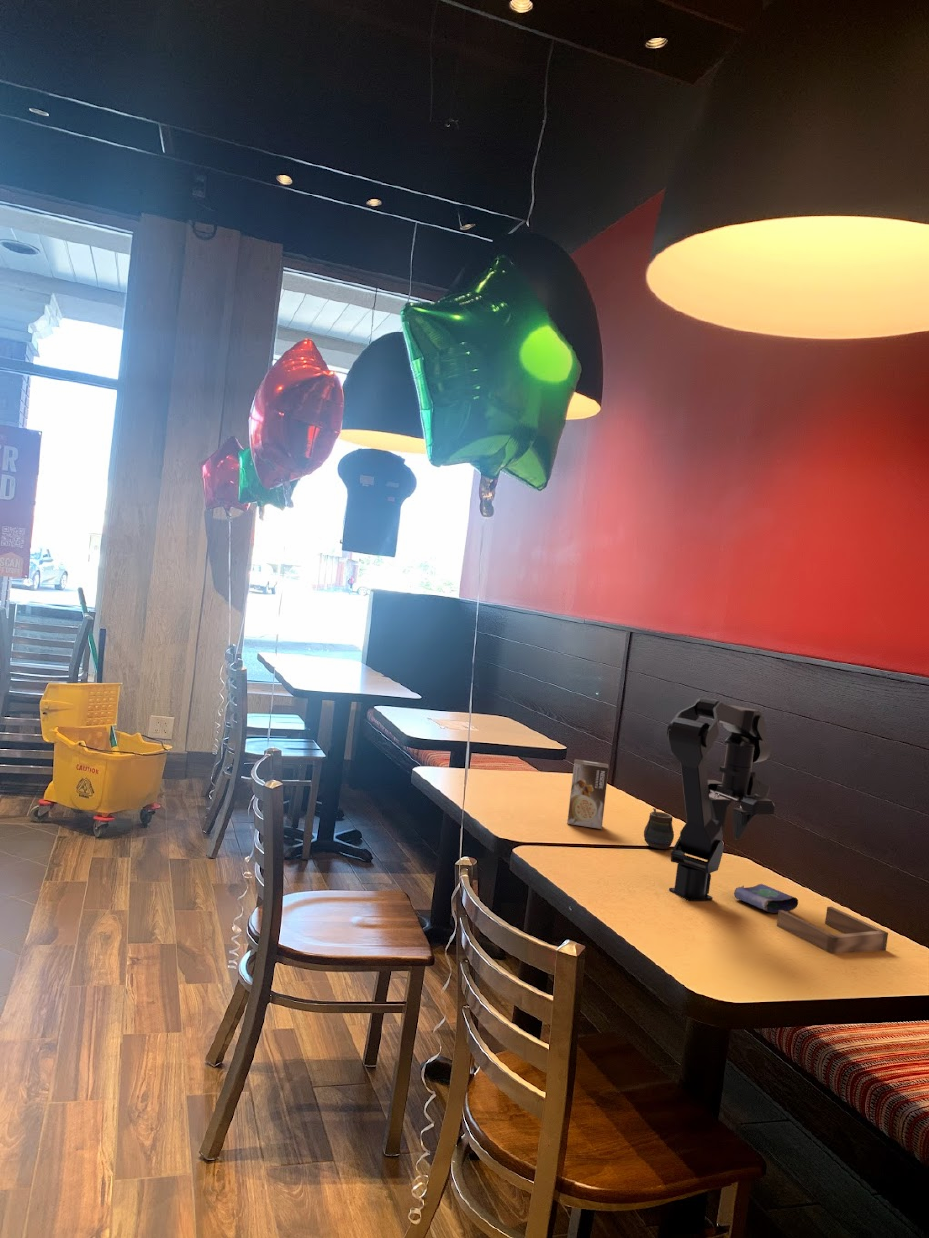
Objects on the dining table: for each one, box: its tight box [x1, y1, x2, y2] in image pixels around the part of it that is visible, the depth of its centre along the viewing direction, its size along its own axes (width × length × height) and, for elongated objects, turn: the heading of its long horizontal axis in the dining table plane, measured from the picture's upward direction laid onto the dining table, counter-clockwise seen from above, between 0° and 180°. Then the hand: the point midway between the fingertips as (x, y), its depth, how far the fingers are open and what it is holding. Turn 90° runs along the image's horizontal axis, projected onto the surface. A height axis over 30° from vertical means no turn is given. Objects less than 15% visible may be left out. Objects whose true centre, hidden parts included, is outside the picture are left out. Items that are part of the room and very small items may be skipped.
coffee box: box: [566, 758, 610, 830], centre depth 239 cm, size 9×6×16 cm
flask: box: [733, 883, 799, 914], centre depth 189 cm, size 9×3×11 cm
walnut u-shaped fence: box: [776, 906, 889, 955], centre depth 174 cm, size 14×13×4 cm
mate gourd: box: [643, 807, 675, 850], centre depth 226 cm, size 7×8×10 cm
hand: (728, 835), depth 200 cm, fingers open, 5 cm apart
